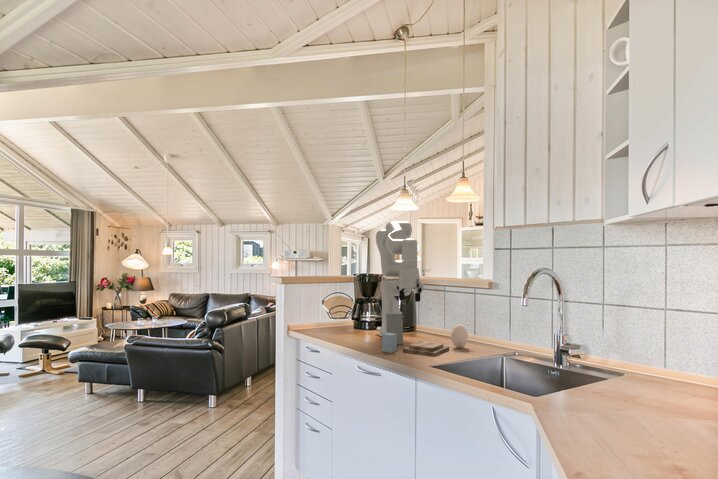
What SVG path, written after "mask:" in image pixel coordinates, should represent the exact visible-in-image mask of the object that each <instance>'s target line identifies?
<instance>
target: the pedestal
mask: <svg viewBox="0 0 718 479" xmlns="http://www.w3.org/2000/svg"><path fill="white" fill-rule="evenodd" d="M448 351H450V346H445V345H444V343H438V342H432V341H431V342H430V341H422V340H420V341H417V342H413V343H411V344H409V345H408V346H406V347H404V348H402V353H408V354H416V355H421V354H422V356H428V357H437V356H439V355H441V354H444V353H447V352H448Z"/></svg>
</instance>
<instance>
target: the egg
mask: <svg viewBox="0 0 718 479" xmlns="http://www.w3.org/2000/svg"><path fill="white" fill-rule="evenodd" d="M450 333H451V334H450V339H451V342H452V344H453V346H454V347H456V348H458V349H462V348H464V347H465V346H466V345H467V343H468V340H469V334H468V330H467V328H466V327H465V326H464V325H463V324H461V323H458V324H456V325H454V327H453V329H452V331H451V332H450Z"/></svg>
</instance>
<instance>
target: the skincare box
mask: <svg viewBox="0 0 718 479" xmlns="http://www.w3.org/2000/svg"><path fill="white" fill-rule="evenodd" d="M386 322H387V333H395V334H397V345H403V344H404V330H403V329H404V328H403V326H404V325H403V324H404V323H403V322H404V320H403V312H402V311H399V312H387V313H386Z"/></svg>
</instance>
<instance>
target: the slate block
mask: <svg viewBox="0 0 718 479" xmlns="http://www.w3.org/2000/svg"><path fill="white" fill-rule="evenodd" d="M381 338H382V339H381V352H383V353H384V352H385V353H390V354H391V353H394V352H397V351H398V344H397V334H395V333H385V334H382V336H381Z"/></svg>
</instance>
